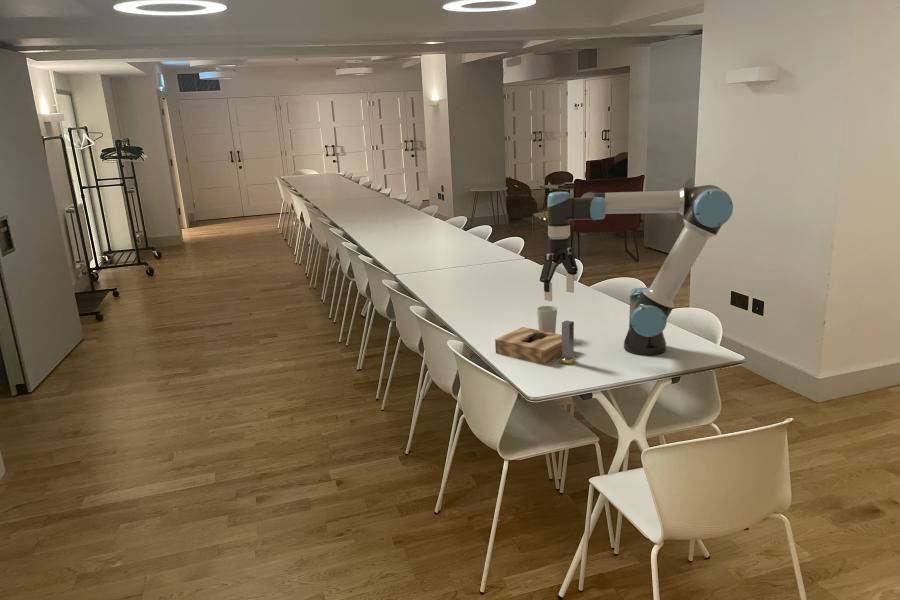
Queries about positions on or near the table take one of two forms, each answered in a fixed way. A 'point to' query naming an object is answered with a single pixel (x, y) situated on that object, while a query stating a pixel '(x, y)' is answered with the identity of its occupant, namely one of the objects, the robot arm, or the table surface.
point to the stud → (567, 343)
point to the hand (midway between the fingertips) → (559, 296)
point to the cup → (547, 318)
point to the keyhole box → (530, 345)
